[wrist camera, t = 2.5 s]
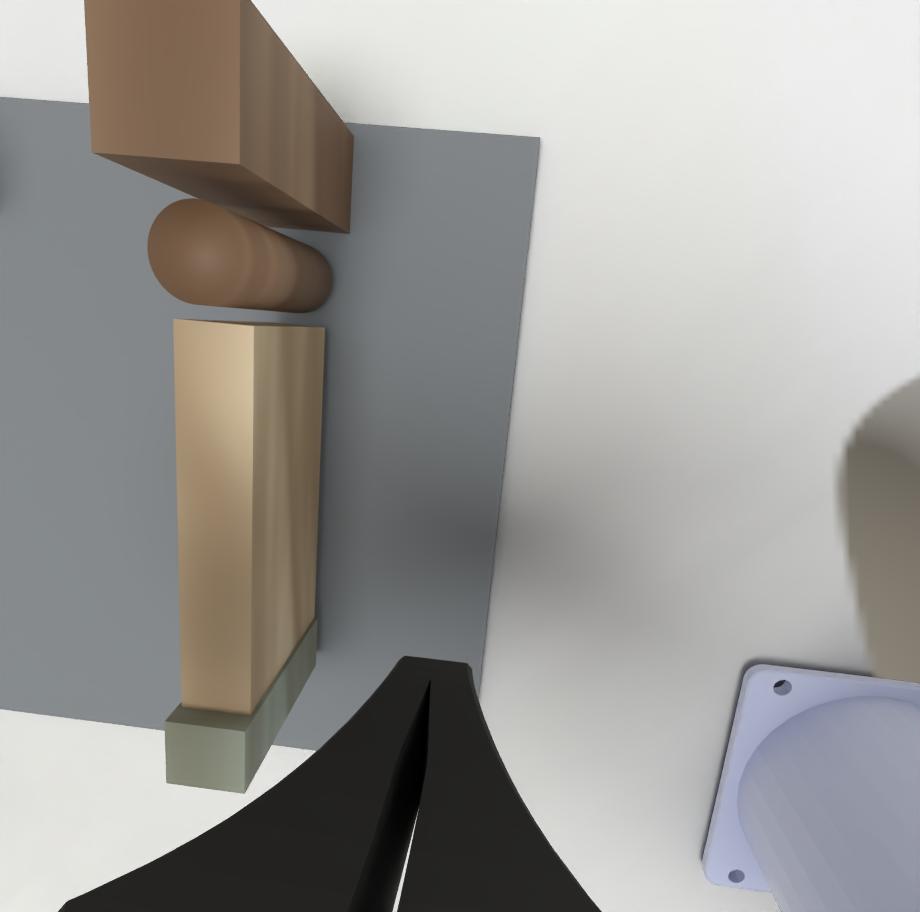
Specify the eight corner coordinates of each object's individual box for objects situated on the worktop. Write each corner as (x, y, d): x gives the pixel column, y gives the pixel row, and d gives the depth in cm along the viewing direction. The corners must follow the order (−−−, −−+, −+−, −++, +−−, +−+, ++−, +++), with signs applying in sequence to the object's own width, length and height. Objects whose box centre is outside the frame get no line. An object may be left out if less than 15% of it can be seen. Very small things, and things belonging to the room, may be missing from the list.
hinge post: (358, 141, 15) (239, -15, 8) (353, 236, 16) (239, 163, 9) (269, 134, 15) (82, -24, 8) (268, 229, 16) (91, 152, 9)
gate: (332, 246, 15) (245, 202, 10) (316, 663, 18) (242, 797, 13) (265, 240, 15) (145, 194, 10) (260, 656, 18) (163, 786, 13)
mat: (539, 142, 15) (540, 137, 14) (471, 761, 19) (470, 770, 19) (-178, 88, 16) (-196, 82, 15) (-93, 688, 20) (-105, 695, 20)
